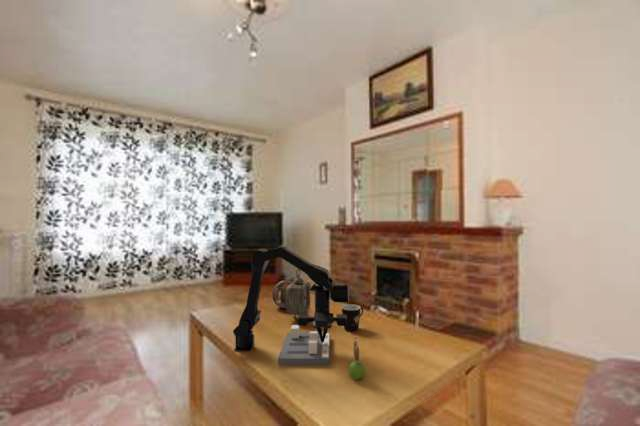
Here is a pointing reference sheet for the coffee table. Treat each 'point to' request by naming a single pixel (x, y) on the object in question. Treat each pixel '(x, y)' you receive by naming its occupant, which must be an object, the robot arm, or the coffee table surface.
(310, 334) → the middle slider
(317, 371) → the coffee table surface
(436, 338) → the coffee table surface
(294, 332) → the far slider
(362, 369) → the snail figurine
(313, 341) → the near slider
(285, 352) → the switch panel
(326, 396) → the coffee table surface
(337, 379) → the coffee table surface
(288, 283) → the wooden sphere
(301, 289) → the tabletop clock
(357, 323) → the coffee mug
